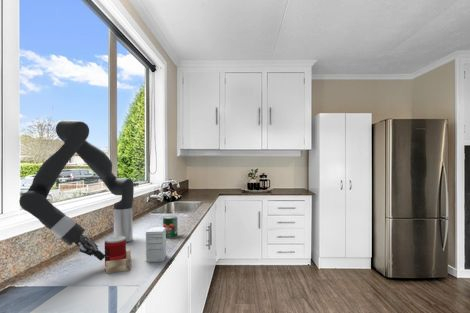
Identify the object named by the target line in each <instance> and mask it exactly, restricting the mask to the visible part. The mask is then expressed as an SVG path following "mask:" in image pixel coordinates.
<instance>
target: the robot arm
mask: <svg viewBox="0 0 470 313" xmlns="http://www.w3.org/2000/svg"><path fill="white" fill-rule="evenodd" d="M55 133H56V135H57V136H58V138H59V139H60V140H61V141H62V142H63V145H61V146H60V147H59V148H58V150H56V151H55V152H54V153H53V154H52V155H50V156H49V157H48V158H47V159H46V160H45V161H44V162H43V163H42V164H41V166H40V168H39V169H38V171H37V172H36V174H35V175H34V177H33V179H32V183H31V185H30V187H29V188H28V190H27V191H26V192H24V193H22V195H21V196H20V198H19V201H18V202H19V206H20V207H21V208H22V209H23V210H24V211H25V212H28V213H29V214H31V216H33V217H35V218H36V219H38V221H39V222H40V223H41V224H42V225H43V226H44V227H46V228H47V229H49V231H51V233H52V234H53V235H55V236H56V237H57V238H58V239H60V240H61V241H63V242H64V244H66V245H68V246H71V245H73V244H75V245H76V247H77V248H78V249H79V252H80V253H83V254H85V255H87V256H89V257H91V256H94V257H95V258H96V259H98V260H99V261H100V262H101V261H103V259H105V253H103V252H102V251H101V250H100V249H99V248H98V245H97V244H96V242H95V241H94V240H93V239H92V237H90V236H85V235H84V233H85V231H86V229H85V228H84V227H82V226H81V225H80V224H79V223H78V222H76V221H75V220H74V219H73V218H71V217H69V216H68V215H67V214H65V213H64V212H63V211H61V210H60V209H59V208H58V207H56V206H55V205H53V203H51V202H50V200H48V199H47V198H48V196H49V193H50V192H51V189H52V188H53V187H54V185H55V183H56V182H57V180H58V178H59V176H60V175H61V173H62V172H63V170H64V168H65V166H66V165H68V162H70V160H71V159H72V158H73V156H74V155H76V154H77V155H78V157H80V159H82V160H83V162H84V163H85V164H86V165H87V166H88V167H89V169H91V171H92V172H94V173H95V174H96V175H97V177H98V178H99V179H100V180H101V181H102V182H103V183H104V186H106V188H107V190H109V191H110V193H111V194H112V195H115V196H121V199H120V200H118V201H116V202H114V203H113V237H114V236H124V237H126V243H129V242H131V241H133V239H134V237H133V235H134V234H133V231H134V230H133V204H134V203H133V202H134V188H135V186H134V182H133V180H132V179H131V178H129V177H128V178H127V177H121V178H120V177H117V176H116V175H115V174H114V173H113V163H112V160H111V159H110V158H109V156H108V155H107V154H106V153H105V152H104V151H103V150H102V149H101V148H98V147H97V146H95V145H94V144H92V143H91V142H89V141H88V140H87V139H88V138H89V135H90V128H89V125H88V123H87V122H84V121H81V120H74V119H64V120H60V121H59V122H57V123H56V127H55Z"/></svg>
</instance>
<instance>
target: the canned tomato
mask: <svg viewBox="0 0 470 313" xmlns="http://www.w3.org/2000/svg"><path fill="white" fill-rule="evenodd" d="M162 227H166V240H168V239H175V238H177V237H178V236H179V235H178V234H179V233H178V215H165V216H163V217H162Z"/></svg>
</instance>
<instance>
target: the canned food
mask: <svg viewBox="0 0 470 313" xmlns="http://www.w3.org/2000/svg"><path fill="white" fill-rule="evenodd" d="M126 250H127V242H126V237H124V236H114V235H113V236H109V237H107V238H105V239H104V255H105V257H104V267H105V268H106V261H112V260H120V259H126Z"/></svg>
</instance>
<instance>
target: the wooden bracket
mask: <svg viewBox="0 0 470 313" xmlns="http://www.w3.org/2000/svg"><path fill="white" fill-rule="evenodd" d="M131 251H132V250H131V249H126V259H120V260H112V261H106V267H105V274H109V273H111V274H112V273H117V272H125V271H130V270H131V261H132V256H131Z"/></svg>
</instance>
